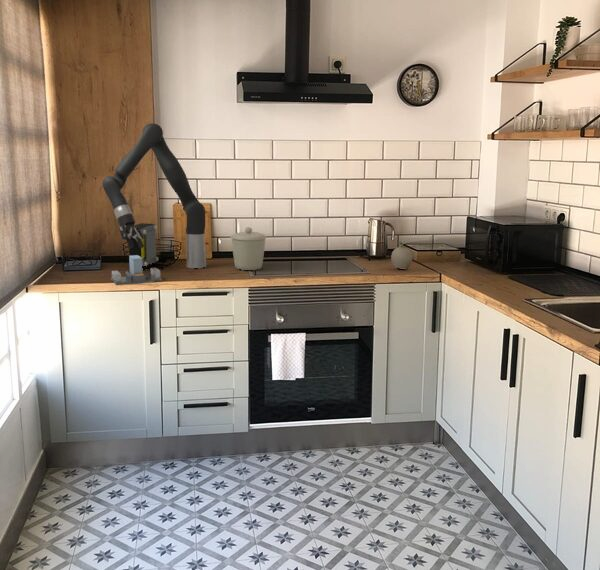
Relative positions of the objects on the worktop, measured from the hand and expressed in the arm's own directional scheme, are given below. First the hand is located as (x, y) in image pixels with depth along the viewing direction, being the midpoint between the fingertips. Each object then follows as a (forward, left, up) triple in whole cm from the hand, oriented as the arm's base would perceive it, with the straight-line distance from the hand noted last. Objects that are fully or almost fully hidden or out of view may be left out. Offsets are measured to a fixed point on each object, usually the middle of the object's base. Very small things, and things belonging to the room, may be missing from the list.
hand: (136, 247), depth 330 cm
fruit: (-129, +23, -14) cm, 132 cm away
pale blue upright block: (+2, +10, -13) cm, 16 cm away
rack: (+2, +10, -14) cm, 17 cm away
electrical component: (-7, -26, -14) cm, 30 cm away
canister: (-55, 0, -14) cm, 56 cm away
